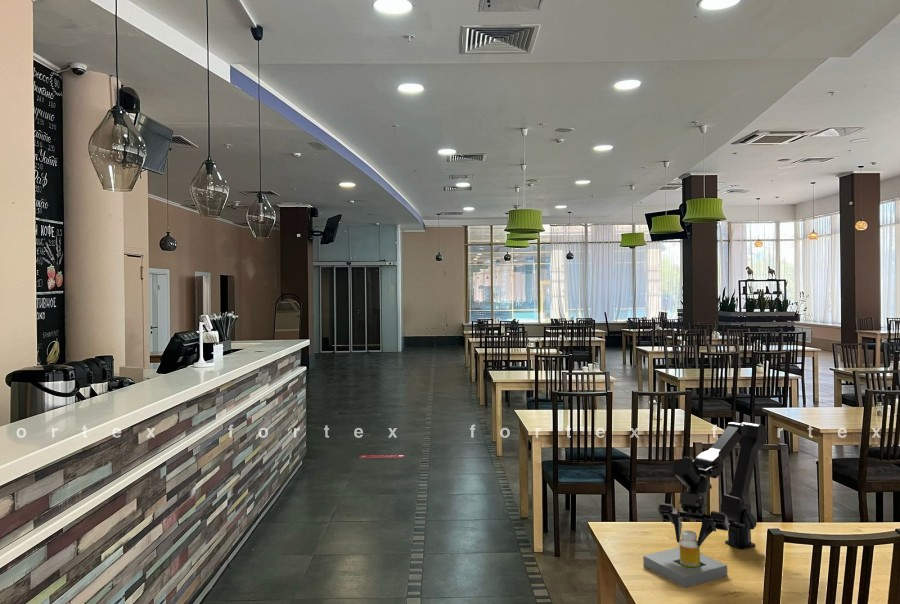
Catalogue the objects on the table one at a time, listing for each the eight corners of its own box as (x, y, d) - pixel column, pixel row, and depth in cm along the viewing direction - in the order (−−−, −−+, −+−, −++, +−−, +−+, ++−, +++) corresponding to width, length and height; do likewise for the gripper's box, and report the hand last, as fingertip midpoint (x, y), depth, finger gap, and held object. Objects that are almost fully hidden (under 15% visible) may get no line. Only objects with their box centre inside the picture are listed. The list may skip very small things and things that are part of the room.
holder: (684, 555, 188) (684, 545, 188) (727, 575, 173) (727, 565, 173) (643, 565, 181) (643, 555, 181) (684, 587, 166) (684, 576, 166)
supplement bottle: (702, 571, 172) (700, 536, 172) (681, 570, 173) (680, 535, 173) (698, 563, 177) (697, 529, 178) (678, 562, 179) (677, 528, 179)
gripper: (658, 476, 184) (648, 524, 175) (725, 485, 173) (717, 536, 164) (667, 495, 191) (657, 542, 182) (732, 504, 180) (725, 555, 171)
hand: (688, 543), depth 174 cm, fingers closed on supplement bottle, 5 cm apart
